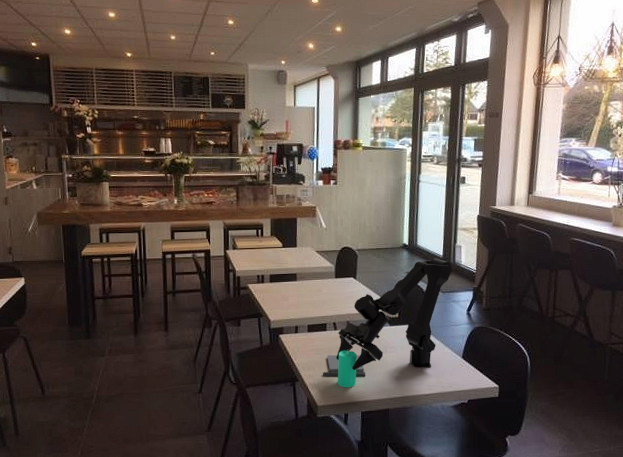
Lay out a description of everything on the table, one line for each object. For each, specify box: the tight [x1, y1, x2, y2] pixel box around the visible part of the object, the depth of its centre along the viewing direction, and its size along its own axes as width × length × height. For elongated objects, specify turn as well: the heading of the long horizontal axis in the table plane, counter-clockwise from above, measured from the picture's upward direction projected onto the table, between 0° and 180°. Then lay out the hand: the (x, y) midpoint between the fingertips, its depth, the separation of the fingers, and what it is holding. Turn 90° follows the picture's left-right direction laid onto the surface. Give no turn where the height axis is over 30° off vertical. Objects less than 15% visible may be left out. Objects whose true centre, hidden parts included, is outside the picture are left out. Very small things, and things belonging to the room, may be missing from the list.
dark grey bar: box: [322, 371, 366, 377], centre depth 190 cm, size 15×1×1 cm, turn 93°
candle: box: [337, 350, 358, 388], centre depth 183 cm, size 6×6×12 cm
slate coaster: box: [326, 354, 365, 372], centre depth 199 cm, size 12×12×1 cm
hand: (344, 364), depth 182 cm, fingers open, 9 cm apart
